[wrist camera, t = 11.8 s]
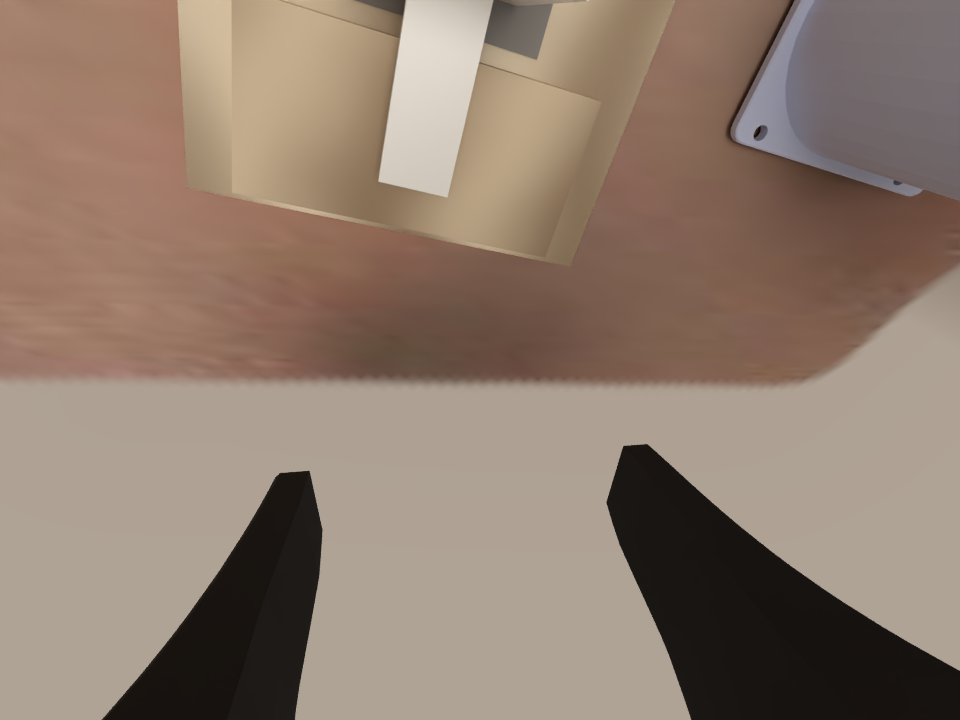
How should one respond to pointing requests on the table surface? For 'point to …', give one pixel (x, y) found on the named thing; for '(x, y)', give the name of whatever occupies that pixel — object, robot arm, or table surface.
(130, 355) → the table surface
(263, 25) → the display stand
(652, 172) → the table surface
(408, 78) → the cube skewered by beam
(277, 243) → the table surface
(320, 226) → the table surface
